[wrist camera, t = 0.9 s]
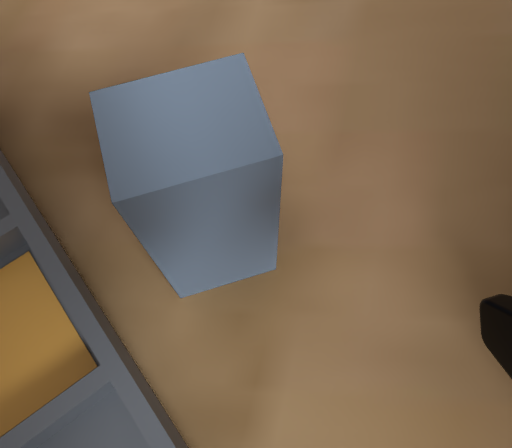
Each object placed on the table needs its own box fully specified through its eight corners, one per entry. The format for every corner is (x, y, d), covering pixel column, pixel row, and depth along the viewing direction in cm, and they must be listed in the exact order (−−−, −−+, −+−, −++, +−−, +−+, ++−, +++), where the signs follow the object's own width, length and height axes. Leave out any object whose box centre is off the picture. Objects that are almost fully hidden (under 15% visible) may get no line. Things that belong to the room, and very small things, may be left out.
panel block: (276, 269, 23) (283, 154, 13) (180, 298, 23) (111, 203, 13) (252, 201, 25) (243, 52, 15) (163, 227, 24) (89, 92, 14)
